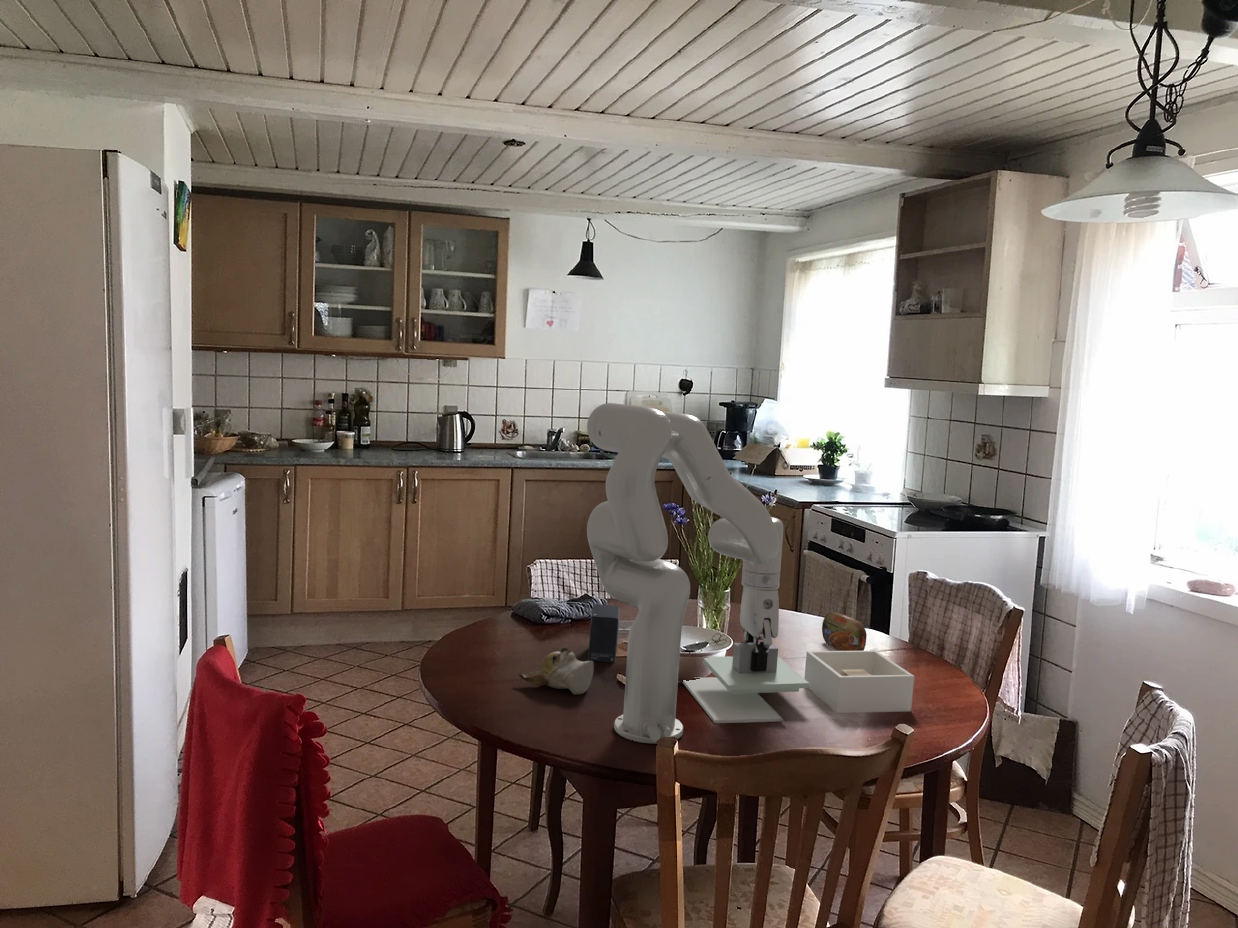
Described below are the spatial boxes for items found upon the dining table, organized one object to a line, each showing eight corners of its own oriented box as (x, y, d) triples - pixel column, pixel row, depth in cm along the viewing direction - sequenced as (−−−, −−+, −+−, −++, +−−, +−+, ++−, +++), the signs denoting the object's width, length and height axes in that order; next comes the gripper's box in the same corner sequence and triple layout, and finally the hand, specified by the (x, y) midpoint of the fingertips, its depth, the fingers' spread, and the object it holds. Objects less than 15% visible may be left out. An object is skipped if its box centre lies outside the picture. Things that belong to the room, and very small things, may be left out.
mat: (827, 720, 181) (828, 717, 181) (714, 723, 176) (714, 720, 176) (782, 679, 203) (782, 676, 203) (681, 680, 198) (681, 678, 198)
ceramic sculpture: (577, 659, 181) (516, 647, 188) (577, 703, 181) (516, 689, 189) (607, 647, 190) (547, 636, 198) (606, 689, 190) (547, 676, 198)
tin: (819, 641, 233) (822, 608, 232) (830, 640, 235) (833, 607, 234) (855, 660, 220) (859, 625, 219) (866, 659, 221) (870, 625, 220)
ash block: (872, 701, 190) (874, 677, 190) (850, 702, 189) (852, 678, 189) (861, 692, 195) (863, 669, 195) (839, 693, 194) (841, 669, 193)
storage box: (910, 714, 186) (914, 676, 185) (836, 716, 183) (839, 677, 182) (872, 686, 202) (875, 650, 201) (803, 687, 198) (806, 651, 197)
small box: (616, 663, 207) (619, 617, 206) (587, 661, 207) (589, 615, 206) (617, 648, 217) (620, 604, 216) (589, 647, 217) (592, 603, 216)
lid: (808, 694, 183) (811, 658, 182) (727, 696, 179) (730, 660, 178) (776, 665, 199) (779, 632, 198) (702, 667, 195) (704, 633, 194)
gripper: (794, 589, 179) (787, 681, 181) (763, 568, 195) (757, 653, 198) (757, 589, 178) (751, 682, 180) (729, 568, 194) (723, 654, 196)
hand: (754, 666), depth 189 cm, fingers closed on lid, 4 cm apart
